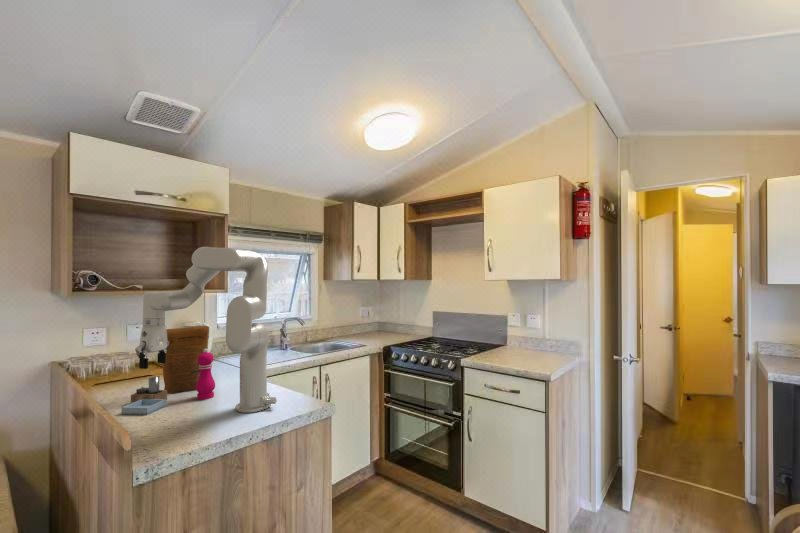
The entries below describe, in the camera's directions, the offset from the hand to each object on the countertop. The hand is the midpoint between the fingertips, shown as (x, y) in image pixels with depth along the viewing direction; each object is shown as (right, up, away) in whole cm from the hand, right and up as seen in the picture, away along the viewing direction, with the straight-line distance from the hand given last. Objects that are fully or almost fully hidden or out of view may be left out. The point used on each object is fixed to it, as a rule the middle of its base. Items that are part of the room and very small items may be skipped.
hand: (152, 365), depth 155 cm
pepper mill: (+18, -15, +5) cm, 24 cm away
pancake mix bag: (+4, -15, +16) cm, 22 cm away
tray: (+3, -14, -9) cm, 17 cm away
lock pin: (+1, -15, 0) cm, 15 cm away
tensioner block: (-1, -15, 0) cm, 15 cm away
